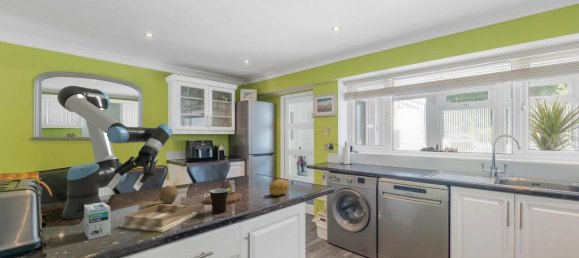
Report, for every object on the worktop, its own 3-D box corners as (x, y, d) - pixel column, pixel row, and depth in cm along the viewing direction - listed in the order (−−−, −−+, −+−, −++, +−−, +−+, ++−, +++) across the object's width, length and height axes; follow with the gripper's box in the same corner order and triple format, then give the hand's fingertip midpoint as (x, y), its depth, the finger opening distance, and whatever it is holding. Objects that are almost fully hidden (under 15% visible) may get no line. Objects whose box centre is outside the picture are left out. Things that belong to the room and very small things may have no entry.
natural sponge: (158, 207, 131) (158, 187, 131) (159, 203, 139) (159, 184, 140) (177, 205, 135) (177, 186, 135) (178, 201, 143) (177, 183, 143)
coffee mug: (223, 214, 118) (223, 193, 118) (206, 213, 119) (206, 192, 119) (234, 207, 129) (233, 187, 129) (218, 206, 131) (218, 187, 131)
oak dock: (120, 227, 103) (120, 216, 103) (159, 211, 124) (159, 202, 124) (162, 231, 98) (162, 220, 98) (196, 214, 118) (196, 205, 118)
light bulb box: (111, 234, 96) (111, 206, 96) (88, 240, 91) (88, 210, 91) (104, 227, 103) (104, 201, 103) (83, 232, 98) (83, 204, 98)
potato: (265, 179, 154) (273, 180, 147) (282, 178, 162) (291, 178, 155) (265, 195, 153) (274, 197, 146) (283, 193, 161) (292, 194, 154)
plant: (246, 196, 153) (246, 177, 153) (235, 205, 134) (234, 184, 134) (214, 195, 156) (214, 177, 156) (199, 204, 136) (199, 183, 137)
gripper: (176, 155, 121) (151, 194, 107) (134, 155, 128) (105, 191, 113) (167, 144, 116) (140, 184, 102) (125, 145, 123) (93, 182, 108)
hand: (122, 188), depth 107 cm, fingers open, 13 cm apart
